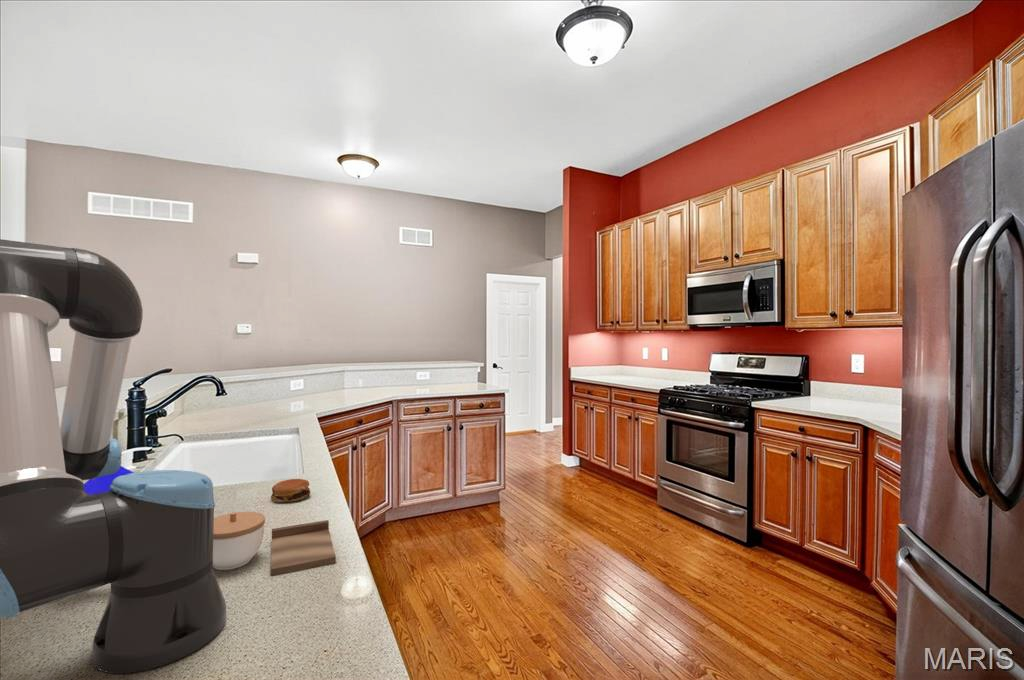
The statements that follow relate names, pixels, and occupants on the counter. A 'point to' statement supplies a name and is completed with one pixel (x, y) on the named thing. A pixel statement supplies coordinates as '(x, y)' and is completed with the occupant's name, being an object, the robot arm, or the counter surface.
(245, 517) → the lidded jar
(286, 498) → the burger
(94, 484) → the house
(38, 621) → the counter surface
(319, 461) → the counter surface
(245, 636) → the counter surface
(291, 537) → the walnut board
